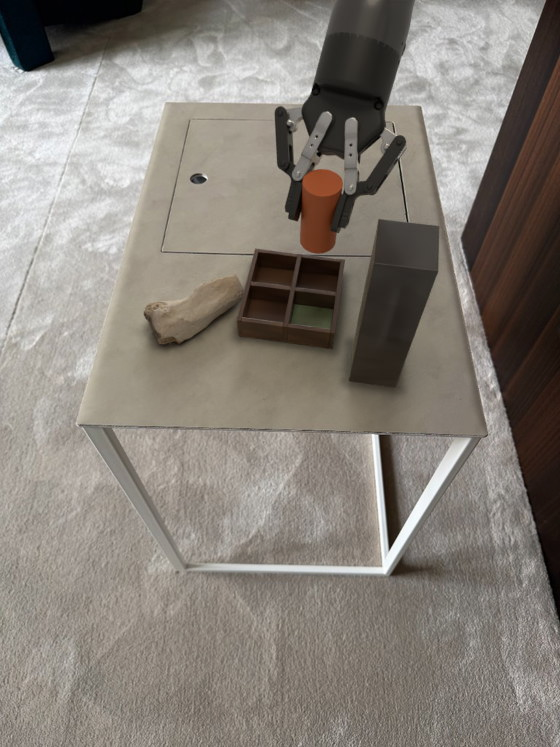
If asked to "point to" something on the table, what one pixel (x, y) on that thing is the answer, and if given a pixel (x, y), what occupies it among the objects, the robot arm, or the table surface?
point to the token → (319, 210)
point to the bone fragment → (193, 310)
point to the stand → (393, 299)
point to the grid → (291, 298)
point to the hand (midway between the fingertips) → (314, 225)
